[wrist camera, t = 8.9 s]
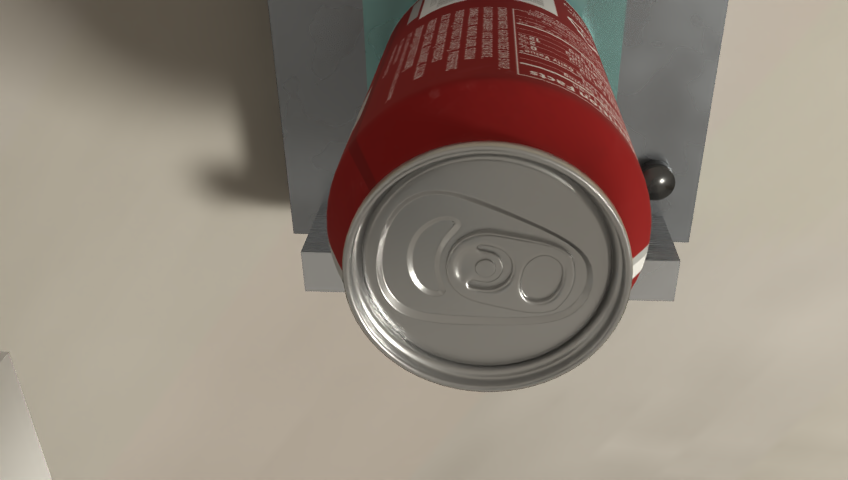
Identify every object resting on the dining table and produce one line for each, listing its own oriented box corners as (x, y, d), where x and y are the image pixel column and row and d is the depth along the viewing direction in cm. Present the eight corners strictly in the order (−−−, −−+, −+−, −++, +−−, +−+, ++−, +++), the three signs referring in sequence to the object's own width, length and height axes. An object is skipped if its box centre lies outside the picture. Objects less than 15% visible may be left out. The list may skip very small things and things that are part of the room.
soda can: (403, -55, 24) (332, 75, 14) (625, -8, 24) (724, 156, 14) (368, 151, 27) (291, 380, 17) (563, 191, 27) (605, 443, 17)
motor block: (309, 213, 32) (275, 290, 27) (272, -155, 25) (220, -140, 20) (673, 220, 31) (705, 302, 26) (731, -162, 24) (788, -148, 19)
